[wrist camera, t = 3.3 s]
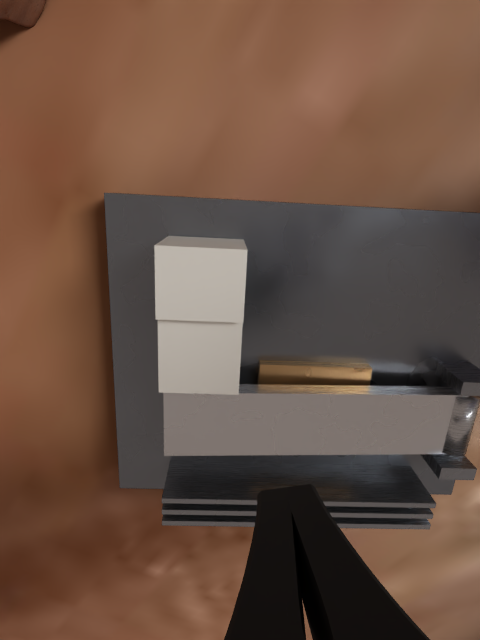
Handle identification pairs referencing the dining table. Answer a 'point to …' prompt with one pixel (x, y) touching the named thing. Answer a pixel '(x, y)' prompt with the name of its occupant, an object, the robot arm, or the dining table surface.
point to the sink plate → (302, 344)
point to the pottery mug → (21, 11)
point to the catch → (199, 313)
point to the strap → (319, 421)
